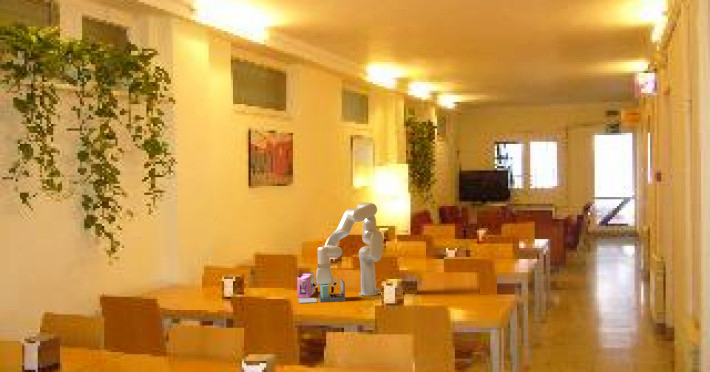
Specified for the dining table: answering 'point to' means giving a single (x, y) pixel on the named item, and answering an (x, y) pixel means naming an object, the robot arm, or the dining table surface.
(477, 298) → the dining table surface
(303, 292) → the gum box
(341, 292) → the rack
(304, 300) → the mat
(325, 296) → the teal board
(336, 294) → the offcut stack
